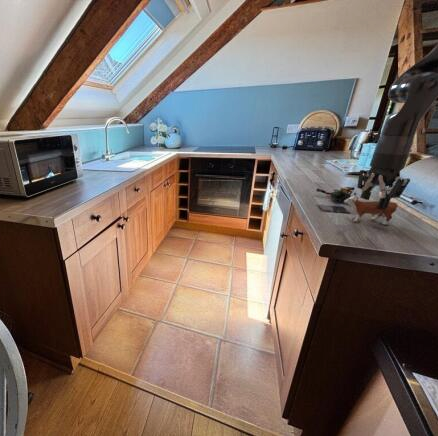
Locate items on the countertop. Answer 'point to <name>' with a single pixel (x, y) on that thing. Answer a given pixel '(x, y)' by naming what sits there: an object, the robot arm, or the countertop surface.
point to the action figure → (339, 193)
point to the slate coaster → (333, 208)
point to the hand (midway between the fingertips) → (371, 205)
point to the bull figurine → (370, 208)
